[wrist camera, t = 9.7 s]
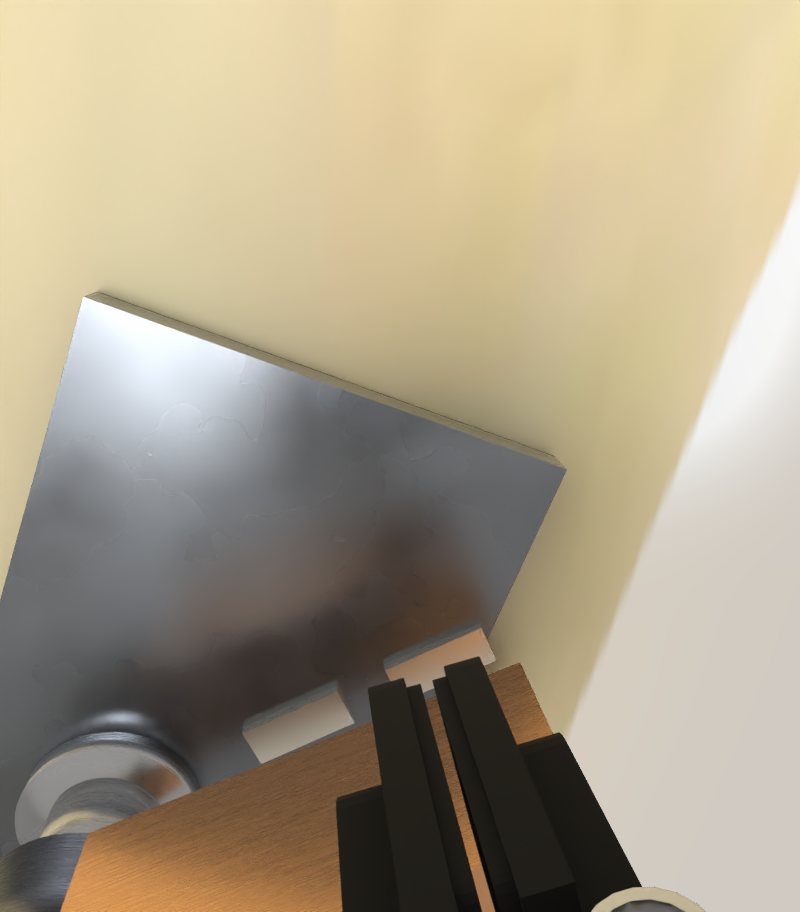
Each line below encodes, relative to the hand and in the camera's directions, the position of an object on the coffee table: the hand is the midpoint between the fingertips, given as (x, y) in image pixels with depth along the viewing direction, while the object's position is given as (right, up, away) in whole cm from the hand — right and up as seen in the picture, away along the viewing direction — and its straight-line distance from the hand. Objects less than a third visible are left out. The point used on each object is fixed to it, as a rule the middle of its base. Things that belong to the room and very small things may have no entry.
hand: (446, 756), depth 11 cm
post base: (-6, -3, +12) cm, 14 cm away
